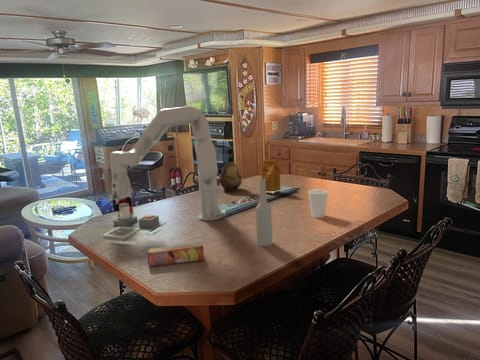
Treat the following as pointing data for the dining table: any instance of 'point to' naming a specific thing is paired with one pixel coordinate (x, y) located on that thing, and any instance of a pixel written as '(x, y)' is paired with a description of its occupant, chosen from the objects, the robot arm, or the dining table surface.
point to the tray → (120, 236)
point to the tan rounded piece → (148, 217)
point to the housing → (138, 222)
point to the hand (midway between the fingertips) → (123, 208)
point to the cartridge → (124, 211)
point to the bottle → (263, 218)
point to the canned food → (125, 202)
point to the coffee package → (271, 175)
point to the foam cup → (318, 202)
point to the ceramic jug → (230, 174)
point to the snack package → (176, 254)
